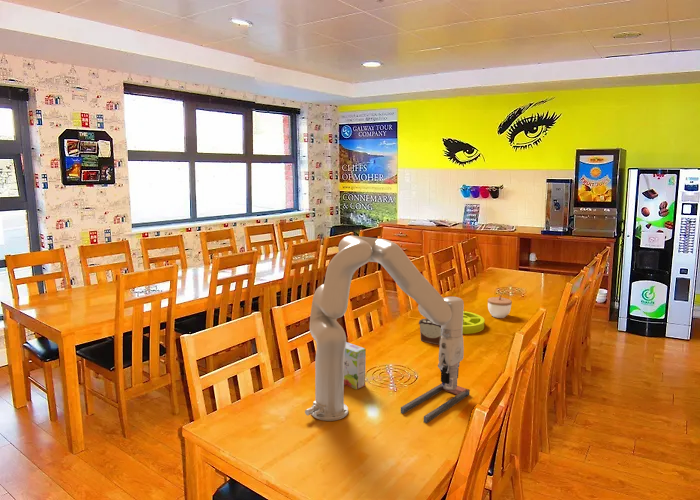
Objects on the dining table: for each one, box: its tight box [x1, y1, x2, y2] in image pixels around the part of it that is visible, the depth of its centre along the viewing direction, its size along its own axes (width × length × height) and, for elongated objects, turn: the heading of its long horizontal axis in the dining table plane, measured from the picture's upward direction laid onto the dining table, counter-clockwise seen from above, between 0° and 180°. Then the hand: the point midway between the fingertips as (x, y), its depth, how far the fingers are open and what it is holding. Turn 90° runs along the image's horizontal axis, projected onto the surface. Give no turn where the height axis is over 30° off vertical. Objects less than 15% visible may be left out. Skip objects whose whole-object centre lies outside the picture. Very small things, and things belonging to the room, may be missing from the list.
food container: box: [418, 318, 441, 346], centre depth 243 cm, size 12×6×10 cm, turn 58°
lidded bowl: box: [487, 296, 513, 319], centre depth 283 cm, size 13×13×11 cm
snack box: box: [344, 341, 367, 390], centre depth 198 cm, size 21×6×15 cm, turn 47°
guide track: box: [400, 382, 471, 424], centre depth 180 cm, size 28×10×2 cm, turn 138°
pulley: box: [462, 310, 485, 335], centre depth 267 cm, size 28×28×5 cm
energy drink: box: [441, 362, 459, 390], centre depth 185 cm, size 5×5×12 cm
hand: (449, 379), depth 185 cm, fingers closed on energy drink, 5 cm apart
